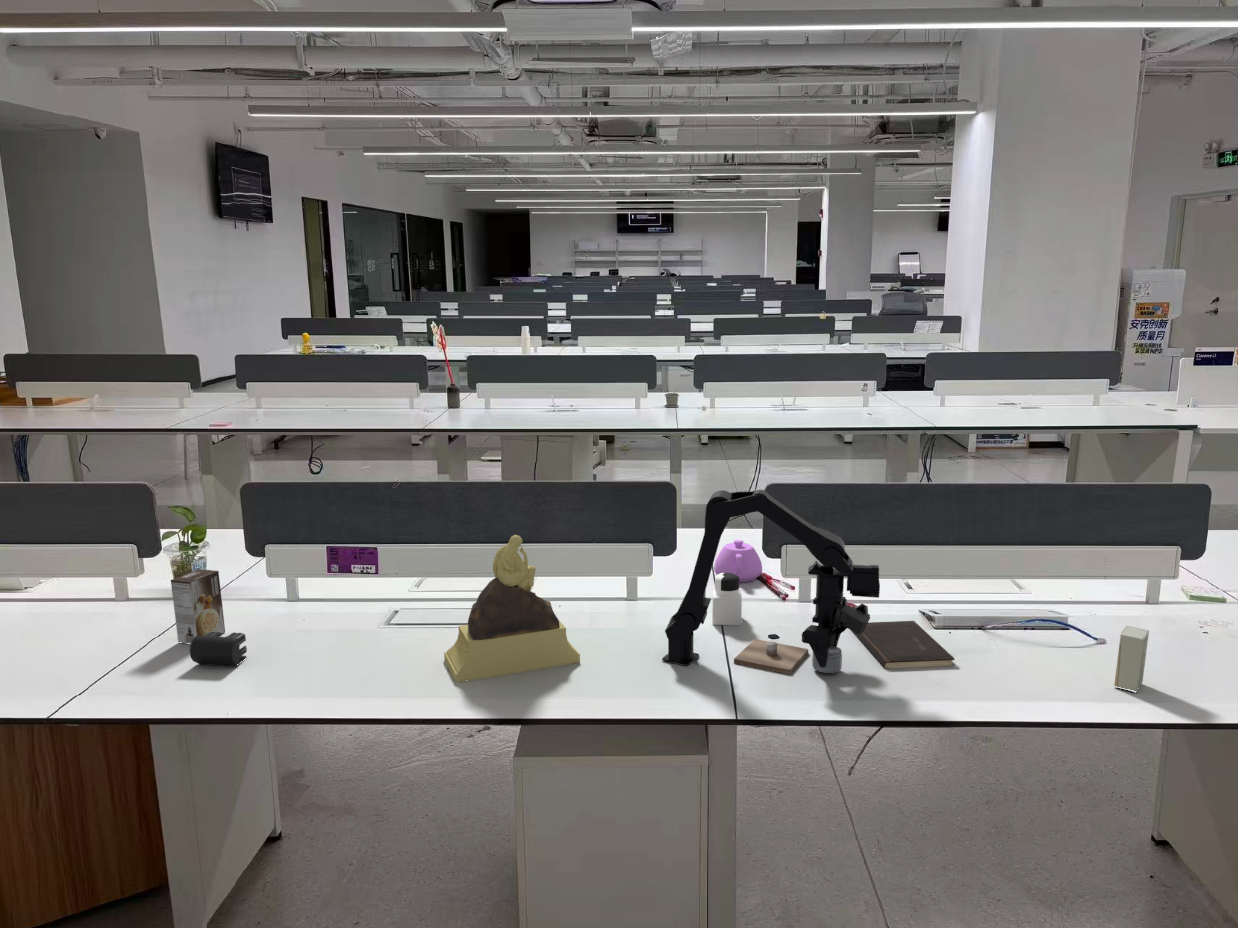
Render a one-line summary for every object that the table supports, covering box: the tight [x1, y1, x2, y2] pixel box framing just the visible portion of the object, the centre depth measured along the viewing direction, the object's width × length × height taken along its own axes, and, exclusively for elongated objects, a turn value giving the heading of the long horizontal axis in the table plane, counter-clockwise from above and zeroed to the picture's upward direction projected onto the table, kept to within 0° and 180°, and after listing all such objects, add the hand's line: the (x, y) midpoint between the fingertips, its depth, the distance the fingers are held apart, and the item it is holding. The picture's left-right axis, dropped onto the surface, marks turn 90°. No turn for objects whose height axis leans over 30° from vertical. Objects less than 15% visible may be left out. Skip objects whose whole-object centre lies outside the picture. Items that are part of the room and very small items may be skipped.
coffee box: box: [170, 568, 226, 644], centre depth 223 cm, size 9×6×16 cm
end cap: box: [189, 632, 248, 667], centre depth 209 cm, size 10×7×7 cm
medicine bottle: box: [711, 573, 743, 627], centre depth 232 cm, size 7×7×12 cm
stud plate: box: [733, 638, 809, 675], centre depth 209 cm, size 13×13×4 cm
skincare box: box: [1113, 625, 1150, 691], centre depth 193 cm, size 6×4×12 cm
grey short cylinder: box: [811, 646, 843, 674], centre depth 202 cm, size 6×6×4 cm
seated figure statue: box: [443, 534, 581, 684], centre depth 206 cm, size 28×13×30 cm, turn 112°
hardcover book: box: [851, 620, 955, 670], centre depth 215 cm, size 16×23×2 cm
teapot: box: [713, 539, 763, 583], centre depth 267 cm, size 14×20×11 cm
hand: (826, 661), depth 202 cm, fingers closed on grey short cylinder, 6 cm apart
